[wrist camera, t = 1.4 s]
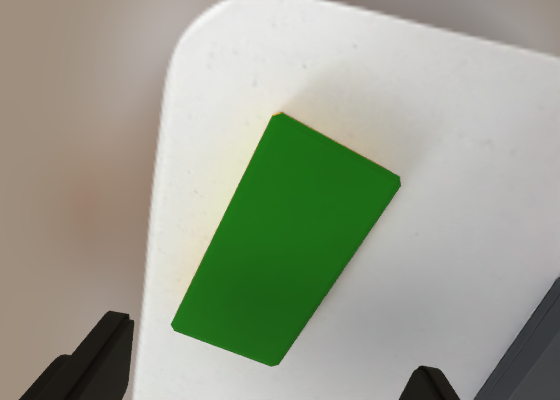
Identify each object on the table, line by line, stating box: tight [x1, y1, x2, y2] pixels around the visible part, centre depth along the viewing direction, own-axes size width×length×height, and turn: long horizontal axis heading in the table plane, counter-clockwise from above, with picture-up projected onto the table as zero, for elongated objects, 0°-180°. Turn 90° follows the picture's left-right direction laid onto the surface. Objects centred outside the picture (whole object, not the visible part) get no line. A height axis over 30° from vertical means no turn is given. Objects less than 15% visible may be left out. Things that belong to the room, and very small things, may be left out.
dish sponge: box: [171, 112, 401, 367], centre depth 16 cm, size 7×14×2 cm, turn 152°
